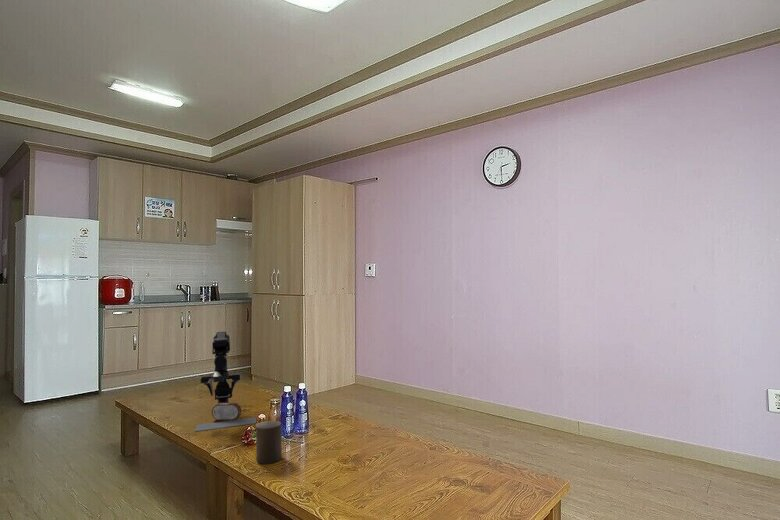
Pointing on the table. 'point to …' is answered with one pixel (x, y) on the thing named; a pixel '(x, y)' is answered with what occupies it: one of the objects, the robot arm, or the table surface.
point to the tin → (226, 411)
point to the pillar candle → (268, 442)
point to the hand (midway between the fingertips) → (221, 395)
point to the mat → (225, 424)
